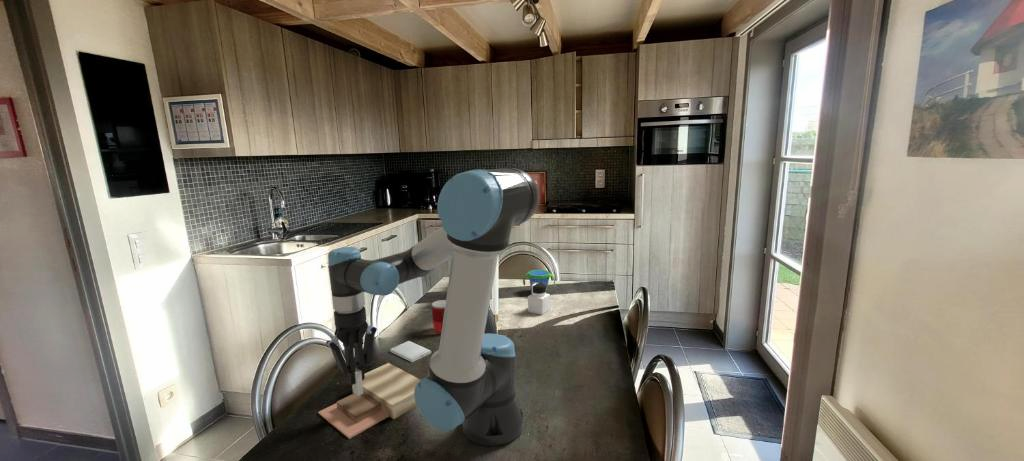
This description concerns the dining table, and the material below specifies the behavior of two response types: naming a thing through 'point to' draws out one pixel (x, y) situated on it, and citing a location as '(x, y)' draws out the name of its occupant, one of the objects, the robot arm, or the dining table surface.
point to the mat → (350, 421)
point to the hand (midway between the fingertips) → (358, 392)
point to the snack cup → (539, 277)
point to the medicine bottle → (539, 299)
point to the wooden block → (358, 406)
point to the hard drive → (410, 351)
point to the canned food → (438, 315)
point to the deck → (391, 389)
